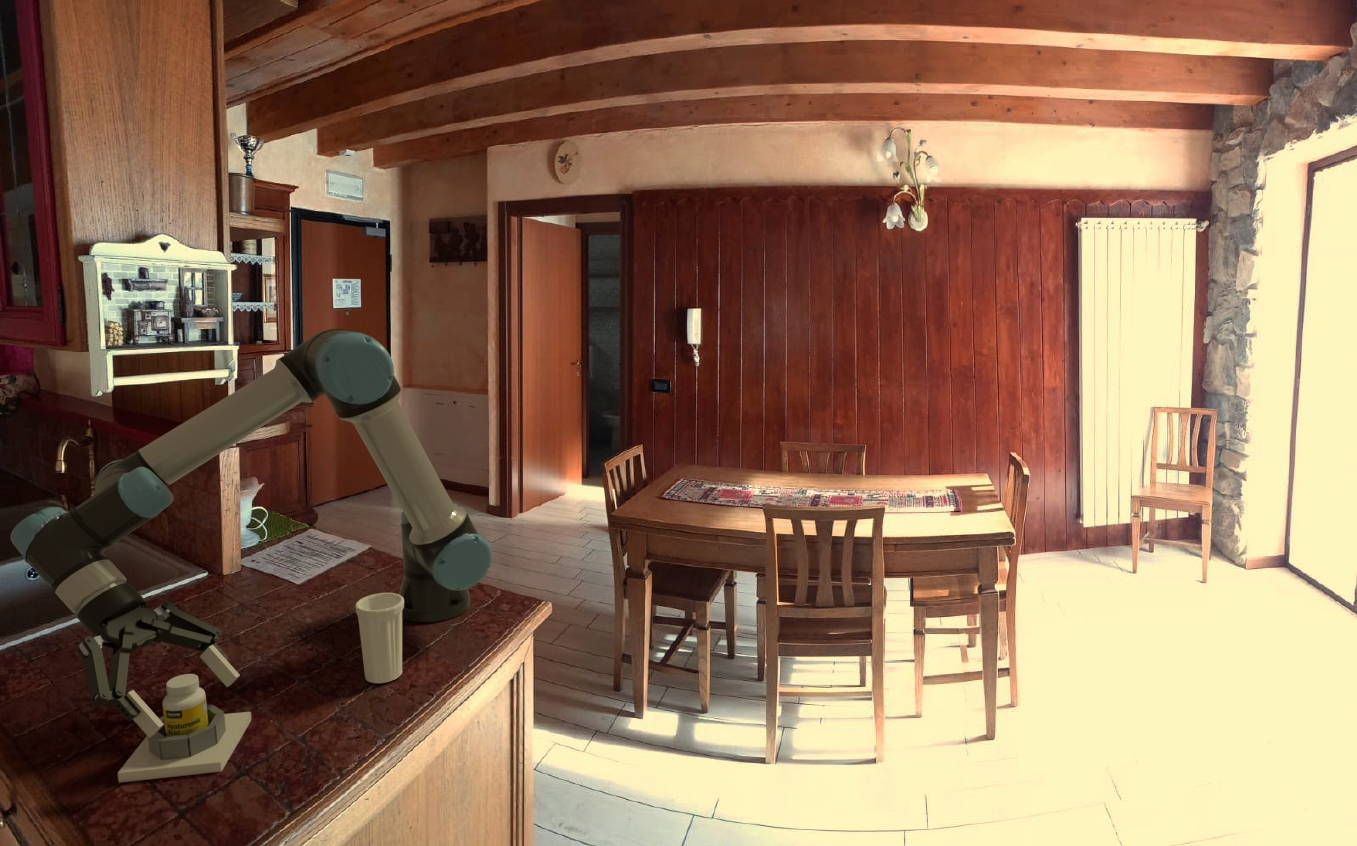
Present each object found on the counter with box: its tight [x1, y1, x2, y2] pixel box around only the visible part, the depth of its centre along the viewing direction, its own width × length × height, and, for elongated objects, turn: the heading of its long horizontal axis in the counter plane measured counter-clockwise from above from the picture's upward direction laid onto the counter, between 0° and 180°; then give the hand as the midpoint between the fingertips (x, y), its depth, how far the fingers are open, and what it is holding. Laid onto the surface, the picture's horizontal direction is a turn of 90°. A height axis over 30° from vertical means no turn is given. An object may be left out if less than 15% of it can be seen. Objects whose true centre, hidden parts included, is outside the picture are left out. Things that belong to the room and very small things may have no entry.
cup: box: [355, 592, 404, 684], centre depth 133 cm, size 8×8×14 cm
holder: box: [117, 704, 252, 783], centre depth 112 cm, size 13×13×4 cm
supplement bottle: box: [162, 673, 208, 737], centre depth 111 cm, size 5×5×10 cm
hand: (197, 704), depth 111 cm, fingers open, 13 cm apart
